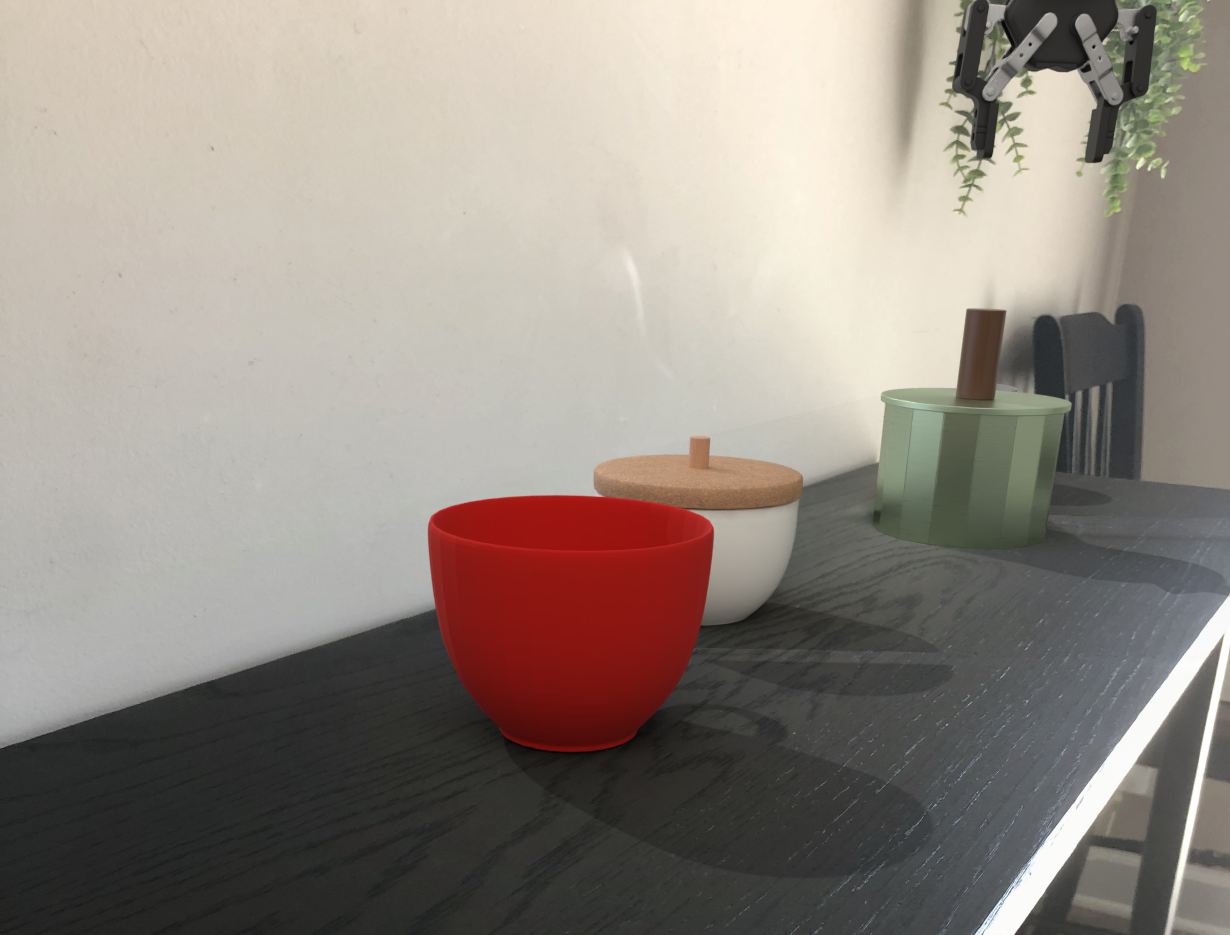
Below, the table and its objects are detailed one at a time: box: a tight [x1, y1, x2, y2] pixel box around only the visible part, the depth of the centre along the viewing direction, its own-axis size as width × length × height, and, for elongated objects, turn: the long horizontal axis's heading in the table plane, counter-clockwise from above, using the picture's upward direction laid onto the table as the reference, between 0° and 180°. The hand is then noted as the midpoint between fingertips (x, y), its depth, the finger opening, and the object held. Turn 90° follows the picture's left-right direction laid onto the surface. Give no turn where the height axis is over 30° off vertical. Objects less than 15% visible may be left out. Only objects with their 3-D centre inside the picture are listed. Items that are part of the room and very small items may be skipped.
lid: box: [880, 307, 1073, 416], centre depth 104 cm, size 15×15×8 cm
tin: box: [872, 403, 1065, 550], centre depth 107 cm, size 14×14×10 cm
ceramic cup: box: [427, 494, 714, 753], centre depth 64 cm, size 13×17×10 cm
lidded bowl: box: [593, 435, 804, 626], centre depth 81 cm, size 13×13×11 cm
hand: (1039, 160), depth 103 cm, fingers open, 8 cm apart
